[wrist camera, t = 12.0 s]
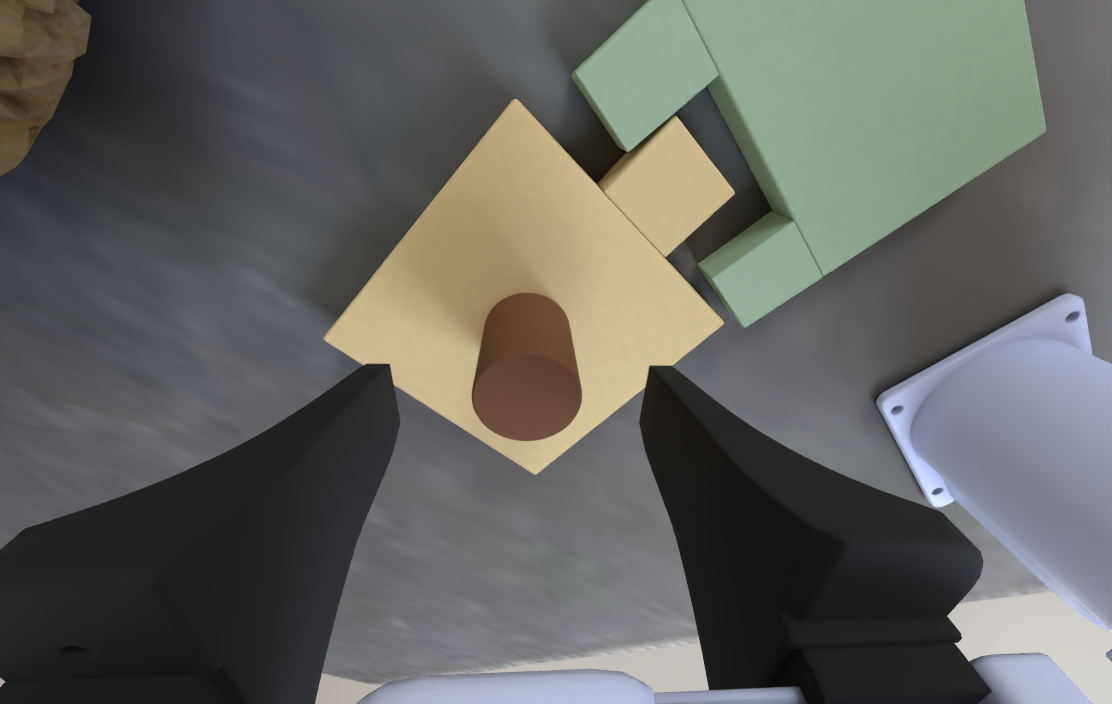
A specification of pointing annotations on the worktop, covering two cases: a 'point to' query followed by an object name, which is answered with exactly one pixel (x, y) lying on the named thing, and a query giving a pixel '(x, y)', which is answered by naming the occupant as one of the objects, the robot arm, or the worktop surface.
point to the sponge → (35, 68)
